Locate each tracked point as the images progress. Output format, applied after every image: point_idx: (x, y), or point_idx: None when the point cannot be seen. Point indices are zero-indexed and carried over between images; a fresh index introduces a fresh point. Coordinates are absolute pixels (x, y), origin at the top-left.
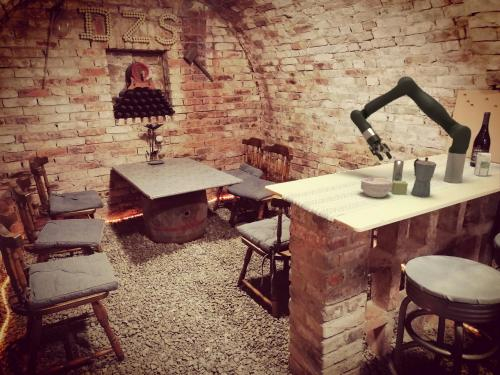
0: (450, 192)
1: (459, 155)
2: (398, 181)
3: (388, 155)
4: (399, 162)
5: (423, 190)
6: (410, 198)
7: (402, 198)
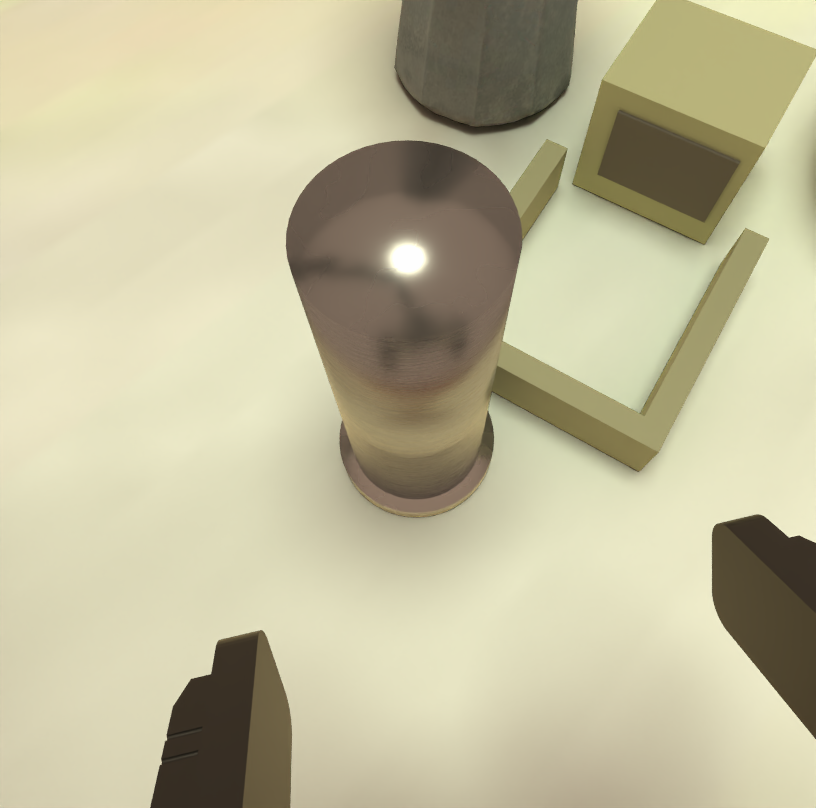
0: (121, 39)
1: None
2: (707, 89)
3: (269, 785)
4: (475, 169)
5: None
6: None
7: None
